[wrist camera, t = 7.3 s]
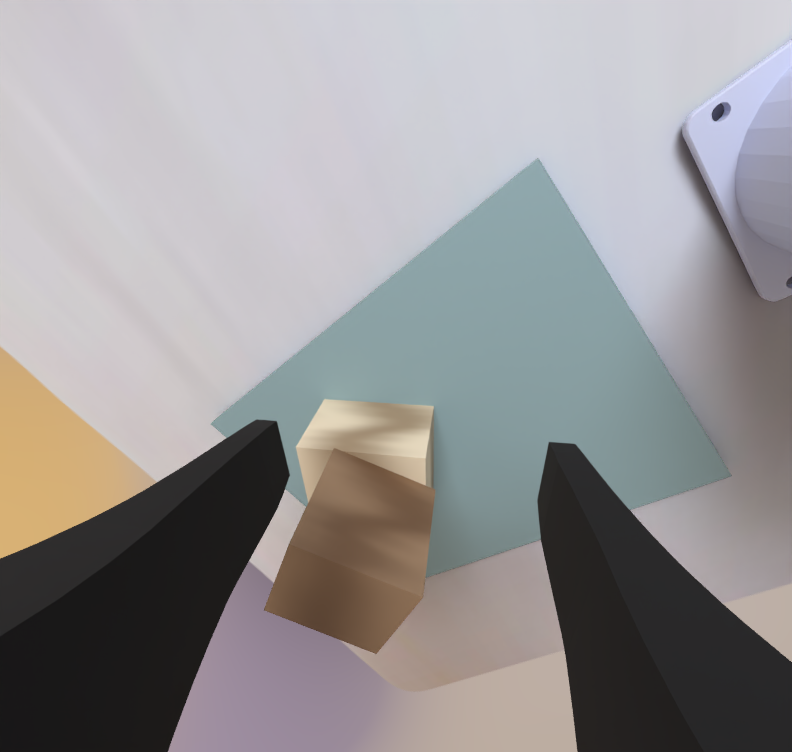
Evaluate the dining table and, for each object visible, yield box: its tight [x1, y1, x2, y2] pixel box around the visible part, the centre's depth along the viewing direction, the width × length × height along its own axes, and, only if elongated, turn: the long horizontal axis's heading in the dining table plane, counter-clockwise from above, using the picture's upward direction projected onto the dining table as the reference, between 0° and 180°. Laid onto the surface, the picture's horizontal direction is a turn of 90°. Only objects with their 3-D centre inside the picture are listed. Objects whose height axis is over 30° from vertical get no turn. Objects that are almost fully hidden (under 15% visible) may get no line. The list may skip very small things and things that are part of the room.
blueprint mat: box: [211, 158, 732, 578], centre depth 22 cm, size 22×18×1 cm
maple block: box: [296, 399, 434, 502], centre depth 21 cm, size 6×6×4 cm
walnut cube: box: [264, 448, 435, 654], centre depth 17 cm, size 5×5×5 cm
